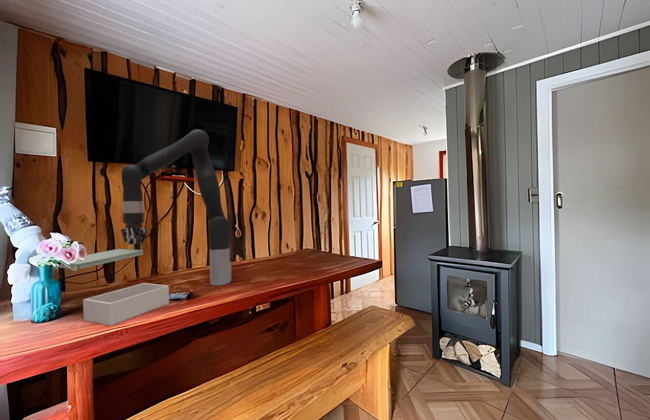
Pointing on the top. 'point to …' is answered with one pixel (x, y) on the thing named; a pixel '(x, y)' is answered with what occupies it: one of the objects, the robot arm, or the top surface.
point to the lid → (105, 257)
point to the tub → (125, 303)
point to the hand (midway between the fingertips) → (134, 251)
